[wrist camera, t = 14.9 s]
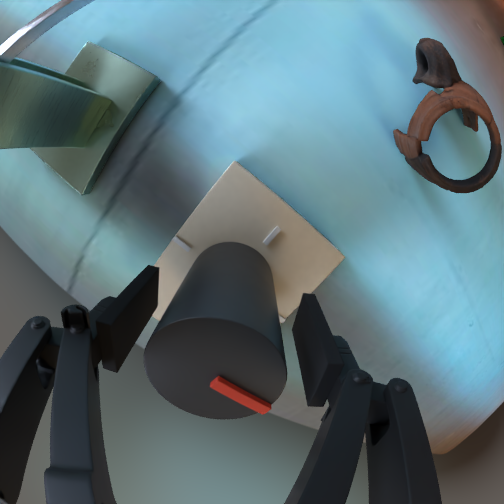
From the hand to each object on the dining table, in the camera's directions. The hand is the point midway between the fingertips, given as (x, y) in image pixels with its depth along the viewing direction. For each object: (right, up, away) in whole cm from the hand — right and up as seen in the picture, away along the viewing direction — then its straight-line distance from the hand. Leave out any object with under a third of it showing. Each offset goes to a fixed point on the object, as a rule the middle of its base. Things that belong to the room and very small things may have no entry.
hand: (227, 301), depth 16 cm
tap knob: (0, +1, +3) cm, 3 cm away
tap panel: (0, +2, +5) cm, 5 cm away
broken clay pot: (+16, +15, +1) cm, 22 cm away
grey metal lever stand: (-12, +15, +1) cm, 19 cm away
